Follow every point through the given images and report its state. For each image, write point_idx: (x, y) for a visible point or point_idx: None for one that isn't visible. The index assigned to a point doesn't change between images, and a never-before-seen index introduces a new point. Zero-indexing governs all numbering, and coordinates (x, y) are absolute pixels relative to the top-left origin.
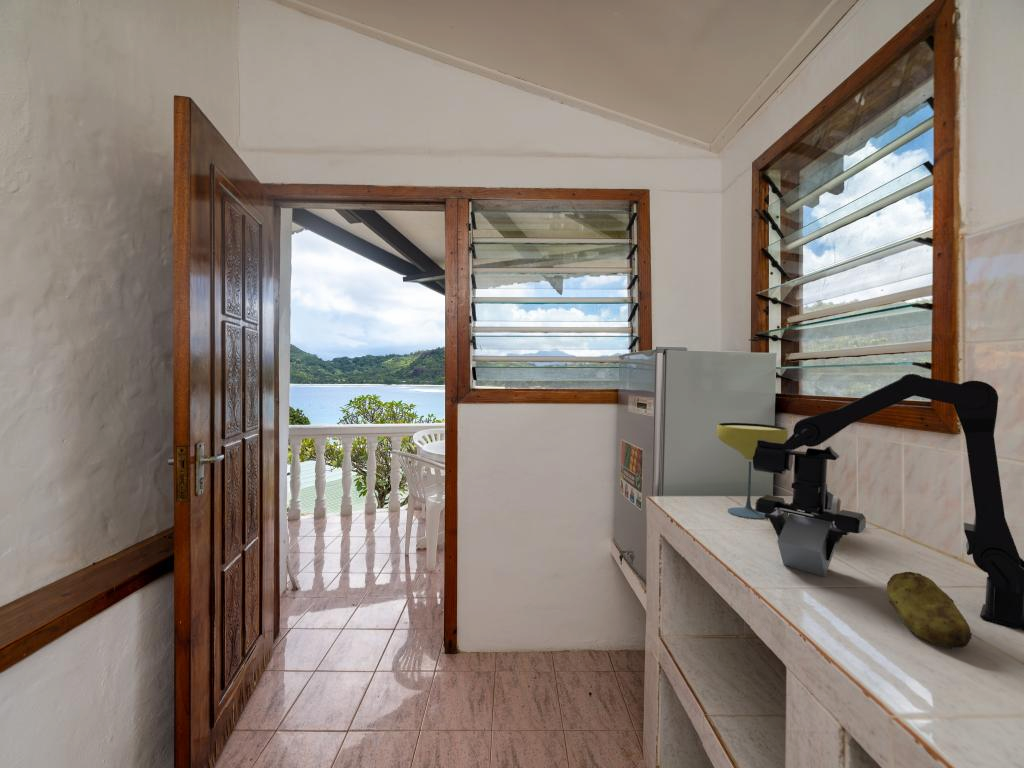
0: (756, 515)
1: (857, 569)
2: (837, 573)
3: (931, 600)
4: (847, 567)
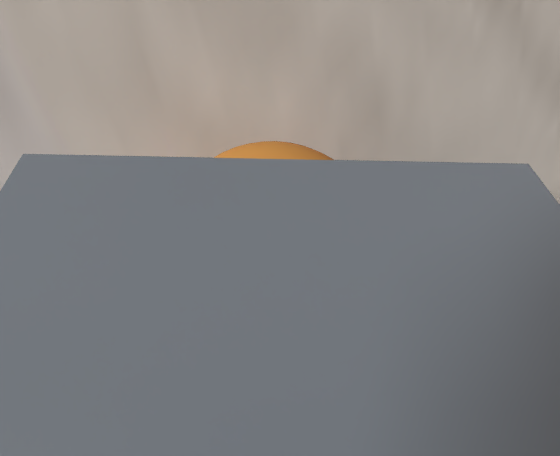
0: None
1: (532, 23)
2: None
3: None
4: (473, 36)
